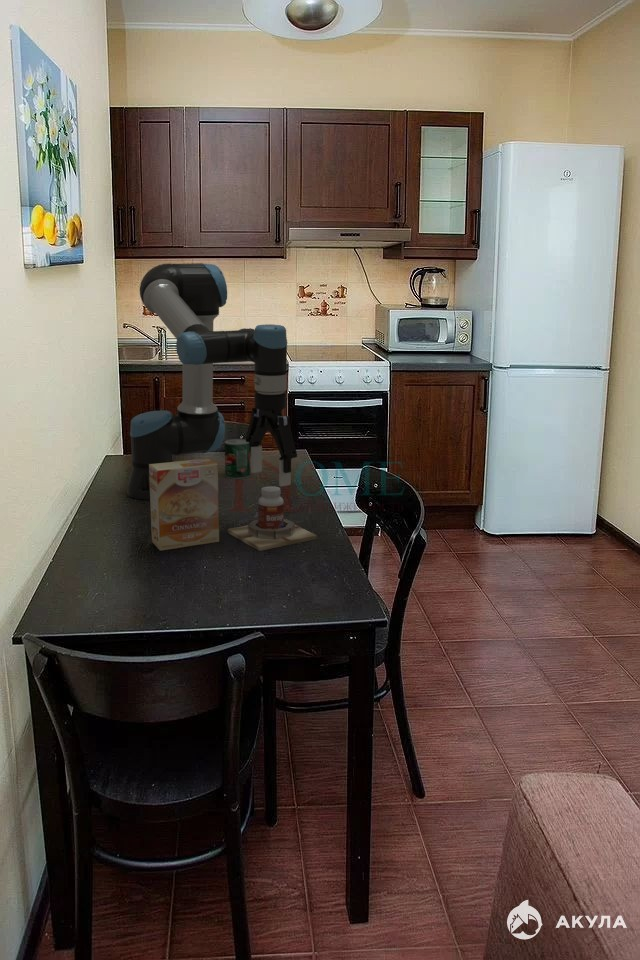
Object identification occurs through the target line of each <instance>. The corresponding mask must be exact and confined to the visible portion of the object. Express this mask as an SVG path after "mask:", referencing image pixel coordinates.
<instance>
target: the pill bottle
mask: <svg viewBox="0 0 640 960" xmlns="http://www.w3.org/2000/svg"><path fill="white" fill-rule="evenodd" d="M260 490H261V491H260V494H261V496H260V497H259V499H258V502H257V503H258V508H257V509H258V512H257V513H258V515H257V516H258V517H257V518H258V527H259V528H261V529H279V528H284V516H285V515H284V513H285V512H284V507H285V506H284V505H285V504H284V503H285V501H284V498H283V497H282V496H281V490H282V489H281V488H280V486H279V487H278V486H274V485H273V486H272V485H271V486H270V485H268V486H263V487H261V488H260Z"/></svg>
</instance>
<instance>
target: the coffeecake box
mask: <svg viewBox="0 0 640 960" xmlns="http://www.w3.org/2000/svg"><path fill="white" fill-rule="evenodd" d="M218 466H219V464H218V463H217V462H216V461H213V460H211V459H210V458H198V459H187V460H180V461H179V460H178V461H177V460H176V461H173V462H167V463H157V464H149V479H150V500H149V501H150V505H149V506H150V520H151V521H150V523H151V525H150V526H151V527H150V528H151V529H150V530H151V543H152V544H153V545H154V546H155V547H156V548H157V549H158V550H159V551H168V550H173V549H180V548H186V547H193V546H199V545H205V544H206V545H207V544H212V543H219V542H220V518H219V515H220V514H219V513H220V512H219V467H218Z"/></svg>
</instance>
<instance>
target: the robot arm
mask: <svg viewBox="0 0 640 960" xmlns="http://www.w3.org/2000/svg"><path fill="white" fill-rule="evenodd" d="M139 296H140V297H139V298H140V300H141V301H142V304H143V305H144V307H145V308H146V309H147V310H148V311H149V312H151V313H152V314H155V315H157V317H158V318H159V319H160V320H161V322H162V323H163V324H164V325H165V327H166V328H167V329H168V331H169V332H170V333H171V334H172V335H173V337H174V338H175V339H176V343H175V344H176V347H175V348H176V349H175V350H176V354H177V357H178V359H179V360H178V361H180V363H181V364H182V401H181V403H180V404H178V406H176V407H177V409H176V414H175V415H174V414H172V412H171V411H169V410H165V409H164V410H161V409H160V410H151V411H146V412H143V413H140V414H137V415H136V416H134V417H132V419H131V420H130V428H129V429H130V430H129V431H130V432H129V436H130V448H131V449H130V450H131V462H132V463H131V465H132V466H131V467H132V468H131V472H130V474H129V475H130V476H129V479H128V483H127V487H126V488H127V489H126V490H127V496H128V497H130V498H133V499H136V500H147V501H150V479H149V464H157V463H167V462H174V456H183V455H192V454H193V455H194V454H205V453H209V452H215V451H216V450H219V448H220V447H221V446H222V444H223V443H224V439H225V433H226V428H225V427H226V424H225V418H224V416H223V414H222V413H221V412H220V411H218V406H216V405H215V403H214V402H213V401H214V400H213V393H214V392H213V389H214V388H213V387H214V386H213V384H214V383H213V382H214V376H213V375H214V364H224V363H228V364H229V363H245V362H252V363H254V365H253V366H254V371H253V372H254V379H253V383H254V390H255V391H256V392H255V393H254V407H252V408H251V417H250V420H249V423H248V429H247V433H246V437H245V440H246V442H249V445H250V474H256V473H261V472H263V446H262V445H263V440H264V437H265V435H266V433H267V432H269V433H270V435H271V436H273V440H274V441H275V444H276V446H277V450H278V452H279V455H280V457H279V462H278V463H279V464H278V465H279V467H278V468H279V469H278V470H279V471H278V474H279V475H278V480H279V481H278V486H279V487H285V486H287V487H288V486H291V483H292V482H291V481H292V480H291V479H292V478H291V476H292V460H293V459H294V458H297V457H298V452H297V450H296V449H297V448H296V444H295V440H294V436H293V432H292V428H291V418H290V415H284V416H283V412H282V411H283V410H284V409H286V408H287V393H286V391H287V384H288V383H287V379H288V377H287V366H288V365H287V360H288V359H287V358H288V357H287V355H288V354H287V350H288V339H287V329H286V327H285V326H284V325H281V324H270V323H269V324H268V323H267V324H258V325H256V326H255V327H254V328H250V327H249V328H240V329H237V330H214V320H215V319H216V318H217V317H218V316H219V315H220V308H222V307H224V306H225V305H226V303H227V300H228V285H227V283H226V278H225V275H224V274H223V271H222V270H221V268H220V267H219V266H217V265H216V264H212V263H203V262H202V263H199V262H198V263H197V262H196V263H190V262H189V263H162V264H158V265H156V266H153V267H152V268H151V269H149V270H148V271H147V272H145V274H144V275H143V277H142V279H141V281H140V285H139Z"/></svg>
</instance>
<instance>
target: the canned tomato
mask: <svg viewBox="0 0 640 960" xmlns="http://www.w3.org/2000/svg"><path fill="white" fill-rule="evenodd" d="M223 443H224V444H223V445H224V472H225V473H224V475H225V476H224V477H226V478H228V479H231V480H242V479H247V478H249V477H251V446H250V445H249V442H246V438H232V439H226V440H223Z"/></svg>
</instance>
